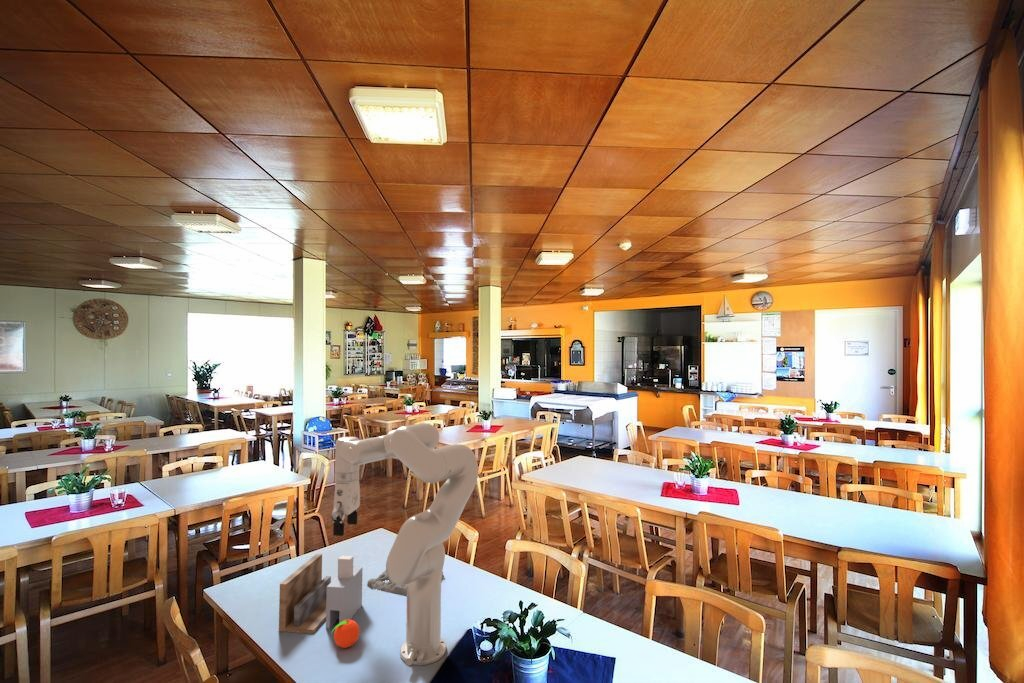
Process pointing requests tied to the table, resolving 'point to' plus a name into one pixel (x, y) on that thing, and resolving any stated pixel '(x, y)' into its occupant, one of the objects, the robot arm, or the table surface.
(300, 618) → the wooden stand
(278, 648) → the table surface
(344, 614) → the white box with handle
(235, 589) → the table surface
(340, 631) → the clementine
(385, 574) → the wall plaque
